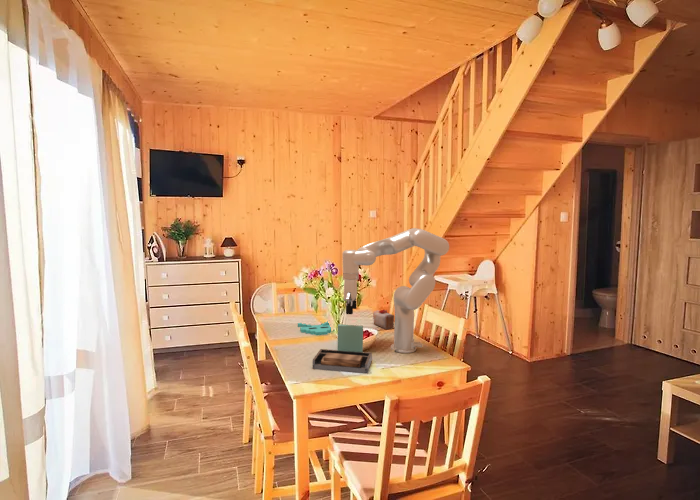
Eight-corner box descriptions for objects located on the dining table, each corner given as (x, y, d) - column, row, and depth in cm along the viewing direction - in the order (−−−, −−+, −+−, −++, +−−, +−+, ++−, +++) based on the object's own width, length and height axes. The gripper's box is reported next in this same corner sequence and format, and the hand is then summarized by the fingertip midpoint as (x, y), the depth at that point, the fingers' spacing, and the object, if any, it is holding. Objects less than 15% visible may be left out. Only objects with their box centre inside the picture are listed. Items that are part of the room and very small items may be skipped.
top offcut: (362, 359, 189) (362, 355, 189) (359, 364, 184) (359, 360, 183) (327, 356, 193) (327, 352, 193) (323, 360, 187) (323, 357, 187)
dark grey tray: (371, 363, 196) (371, 352, 195) (367, 375, 182) (367, 364, 181) (320, 359, 200) (320, 349, 200) (312, 371, 186) (312, 359, 186)
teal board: (362, 353, 208) (363, 325, 206) (361, 355, 205) (362, 327, 204) (338, 352, 210) (338, 324, 208) (337, 353, 208) (337, 325, 206)
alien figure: (297, 326, 252) (303, 337, 233) (297, 323, 252) (303, 333, 233) (330, 324, 258) (339, 334, 239) (330, 320, 258) (339, 330, 239)
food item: (371, 324, 257) (371, 308, 256) (381, 322, 261) (381, 306, 260) (385, 330, 246) (385, 313, 244) (396, 328, 250) (396, 311, 249)
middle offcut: (358, 361, 191) (359, 358, 190) (357, 366, 185) (357, 363, 185) (323, 359, 193) (323, 356, 193) (320, 364, 187) (320, 361, 187)
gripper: (346, 272, 212) (347, 306, 214) (339, 279, 195) (339, 316, 198) (361, 273, 211) (362, 307, 213) (355, 279, 194) (356, 316, 196)
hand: (351, 311), depth 205 cm, fingers open, 9 cm apart
